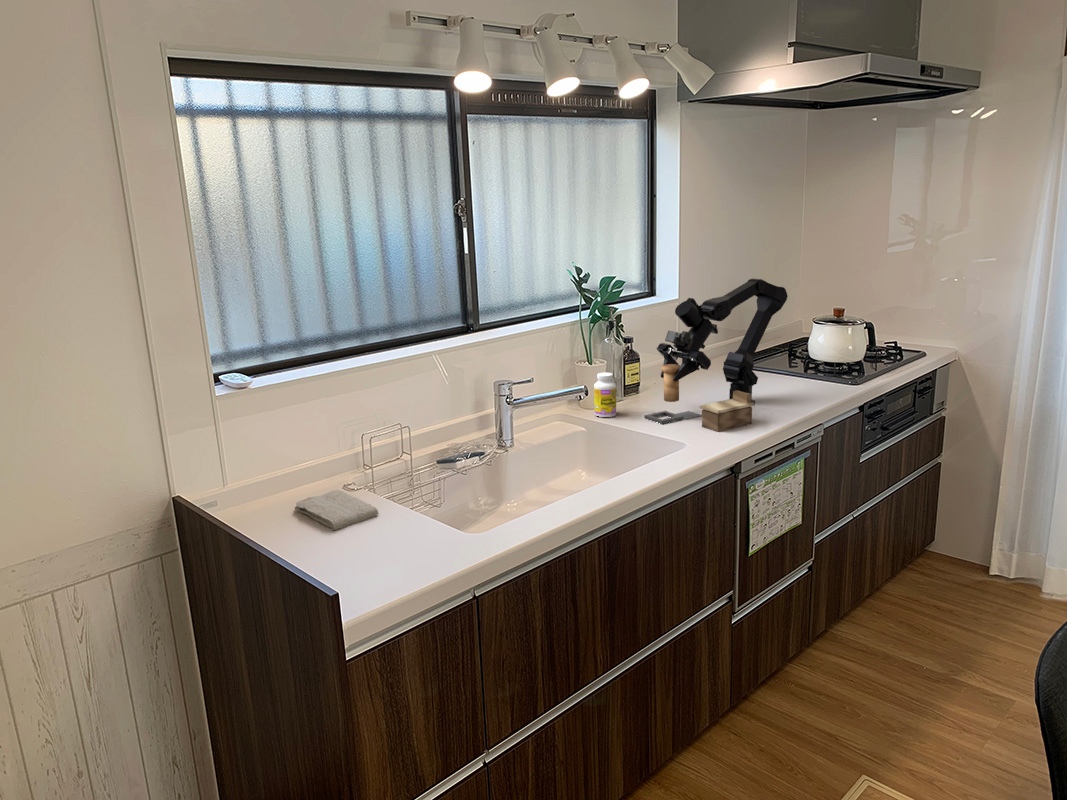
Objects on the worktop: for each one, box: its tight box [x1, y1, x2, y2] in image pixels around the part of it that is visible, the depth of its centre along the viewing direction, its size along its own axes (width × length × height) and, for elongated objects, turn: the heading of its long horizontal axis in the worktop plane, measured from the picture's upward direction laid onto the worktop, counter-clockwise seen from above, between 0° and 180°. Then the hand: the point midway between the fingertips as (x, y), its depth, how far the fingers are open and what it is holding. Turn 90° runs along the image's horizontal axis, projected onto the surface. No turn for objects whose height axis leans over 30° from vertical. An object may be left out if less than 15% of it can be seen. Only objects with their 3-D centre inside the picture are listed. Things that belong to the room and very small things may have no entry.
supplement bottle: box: [593, 371, 617, 418], centre depth 250 cm, size 7×7×13 cm
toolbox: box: [701, 406, 753, 433], centre depth 236 cm, size 13×6×5 cm, turn 121°
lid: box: [699, 390, 755, 414], centre depth 235 cm, size 14×7×3 cm, turn 121°
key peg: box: [660, 364, 681, 403], centre depth 243 cm, size 6×6×10 cm
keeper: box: [643, 410, 684, 425], centre depth 245 cm, size 8×8×1 cm
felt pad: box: [676, 410, 702, 420], centre depth 248 cm, size 6×6×1 cm
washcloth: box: [294, 489, 379, 531], centre depth 183 cm, size 12×18×3 cm, turn 45°
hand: (667, 379), depth 242 cm, fingers closed on key peg, 5 cm apart
